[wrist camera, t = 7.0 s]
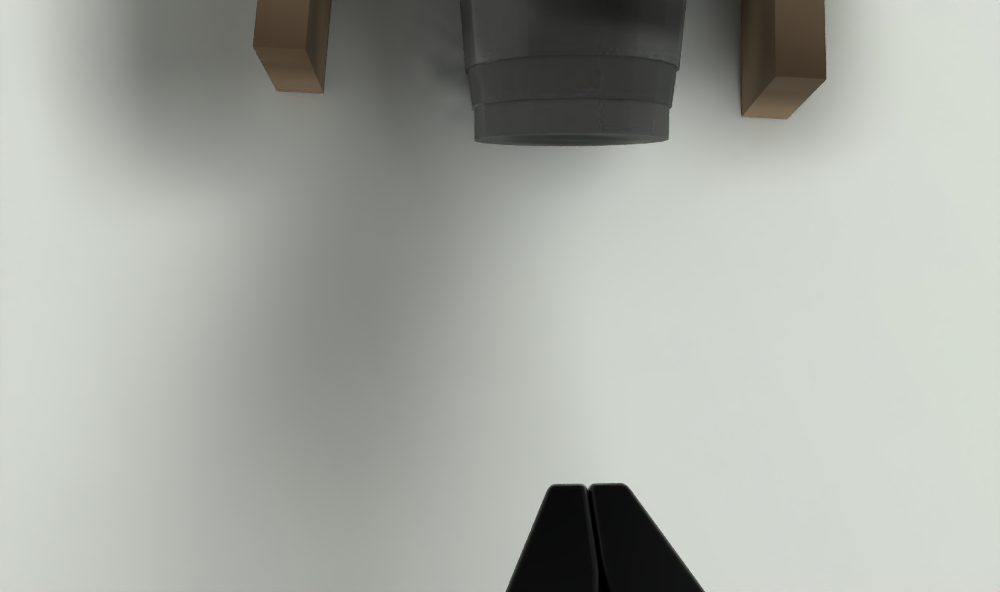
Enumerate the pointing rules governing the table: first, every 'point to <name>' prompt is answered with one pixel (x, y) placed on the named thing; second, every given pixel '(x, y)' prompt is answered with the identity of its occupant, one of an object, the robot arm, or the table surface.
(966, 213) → the table surface
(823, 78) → the walnut bay
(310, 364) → the table surface
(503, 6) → the beverage cup
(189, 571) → the table surface
